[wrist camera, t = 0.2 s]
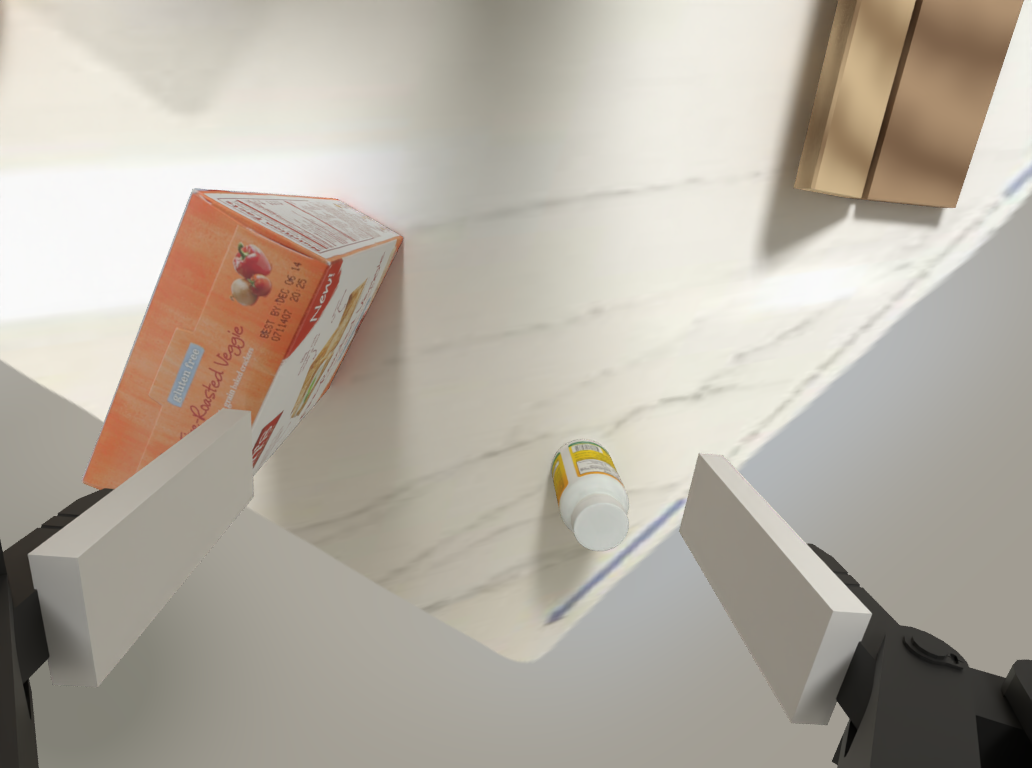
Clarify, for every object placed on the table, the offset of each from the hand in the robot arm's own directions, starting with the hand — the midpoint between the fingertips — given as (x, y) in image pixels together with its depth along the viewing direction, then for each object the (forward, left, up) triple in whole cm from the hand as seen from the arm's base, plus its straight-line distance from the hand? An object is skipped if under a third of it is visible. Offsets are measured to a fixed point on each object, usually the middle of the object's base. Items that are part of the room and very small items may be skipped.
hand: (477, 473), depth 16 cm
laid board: (-22, +31, -28) cm, 47 cm away
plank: (-22, +24, -26) cm, 41 cm away
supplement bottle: (+13, +9, -28) cm, 32 cm away
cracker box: (0, -12, -28) cm, 30 cm away
